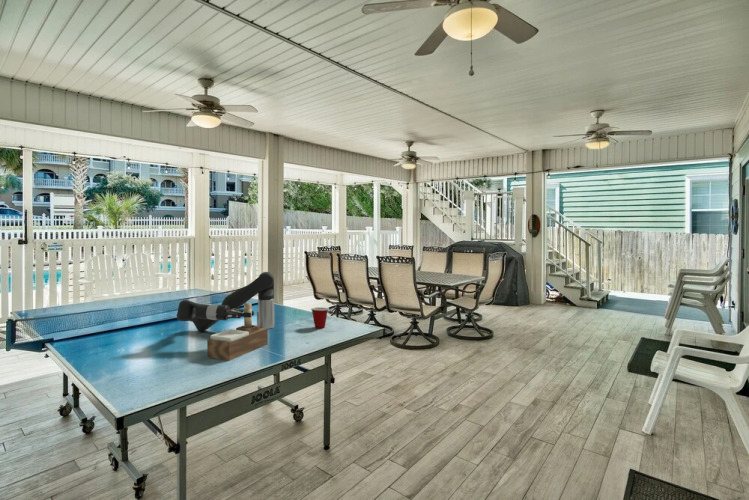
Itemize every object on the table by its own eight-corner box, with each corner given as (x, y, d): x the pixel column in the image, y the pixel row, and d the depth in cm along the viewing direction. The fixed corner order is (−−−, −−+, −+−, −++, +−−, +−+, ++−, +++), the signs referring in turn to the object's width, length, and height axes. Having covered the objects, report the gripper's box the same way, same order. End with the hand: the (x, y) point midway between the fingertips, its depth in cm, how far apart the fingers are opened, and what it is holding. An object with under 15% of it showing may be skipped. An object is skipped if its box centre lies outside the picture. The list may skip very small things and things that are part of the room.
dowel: (242, 331, 193) (242, 303, 192) (247, 329, 196) (247, 302, 196) (248, 332, 192) (248, 304, 191) (253, 330, 195) (253, 302, 194)
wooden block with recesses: (207, 357, 178) (207, 335, 178) (247, 341, 203) (247, 322, 203) (229, 360, 173) (229, 338, 173) (267, 344, 198) (267, 324, 198)
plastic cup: (332, 326, 235) (332, 306, 235) (322, 330, 225) (322, 310, 225) (317, 324, 240) (317, 305, 239) (307, 328, 230) (307, 308, 229)
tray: (210, 339, 179) (210, 335, 179) (229, 332, 190) (229, 329, 190) (230, 342, 175) (230, 338, 175) (248, 335, 186) (248, 331, 186)
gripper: (223, 316, 201) (256, 318, 201) (211, 323, 187) (247, 325, 187) (224, 302, 201) (257, 304, 200) (212, 307, 186) (247, 309, 186)
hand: (252, 314), depth 194 cm, fingers closed on dowel, 3 cm apart
